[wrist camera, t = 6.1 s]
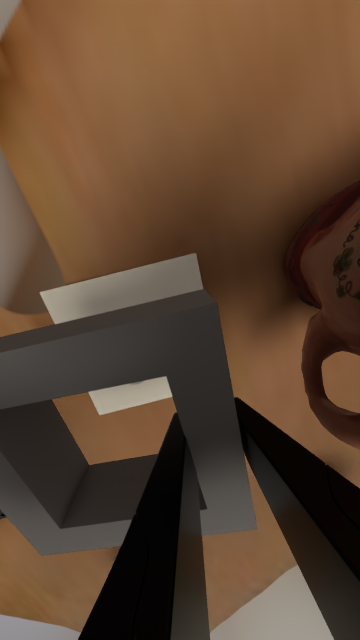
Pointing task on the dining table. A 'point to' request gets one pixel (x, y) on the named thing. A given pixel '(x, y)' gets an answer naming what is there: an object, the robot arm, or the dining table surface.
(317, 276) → the decorative planter
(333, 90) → the dining table surface
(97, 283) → the post stand
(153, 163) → the dining table surface
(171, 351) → the grey square frame
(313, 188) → the dining table surface
